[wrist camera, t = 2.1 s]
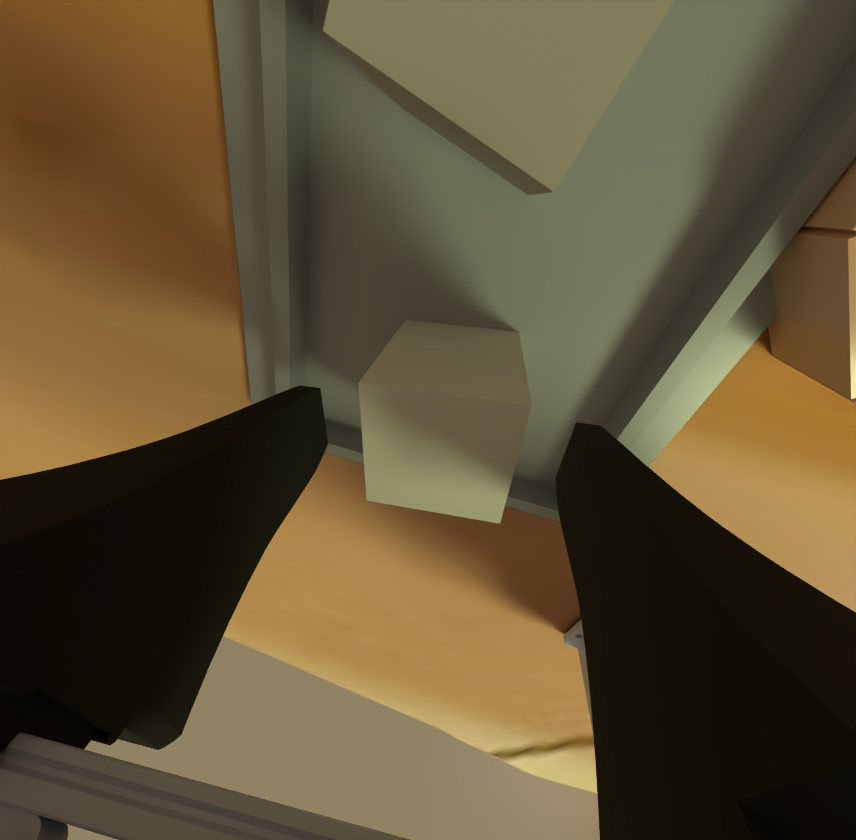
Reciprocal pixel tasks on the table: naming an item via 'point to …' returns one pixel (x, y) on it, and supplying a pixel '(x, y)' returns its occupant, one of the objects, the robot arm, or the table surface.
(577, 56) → the beige square block
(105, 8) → the table surface
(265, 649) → the table surface
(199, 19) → the table surface
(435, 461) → the sage green cube
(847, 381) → the bowl
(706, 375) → the parts tray
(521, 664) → the table surface
